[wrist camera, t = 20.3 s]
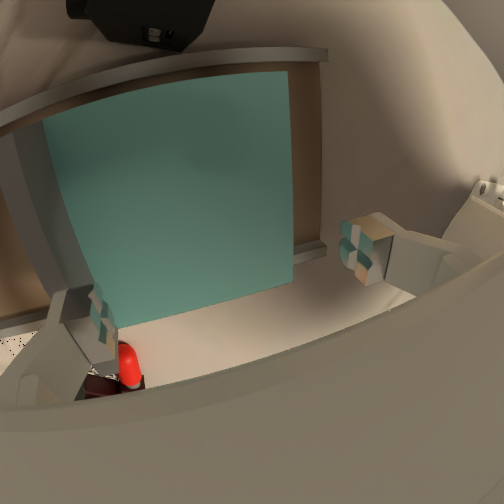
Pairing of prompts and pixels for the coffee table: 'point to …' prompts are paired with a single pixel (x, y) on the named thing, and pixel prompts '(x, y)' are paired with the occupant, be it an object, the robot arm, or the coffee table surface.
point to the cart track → (153, 74)
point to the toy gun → (106, 387)
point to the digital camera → (146, 20)
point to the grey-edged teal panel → (158, 195)
